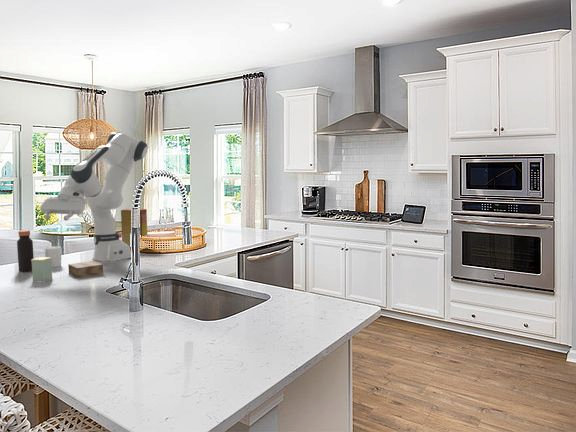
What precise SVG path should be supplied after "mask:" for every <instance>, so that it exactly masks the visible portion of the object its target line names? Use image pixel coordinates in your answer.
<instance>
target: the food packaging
mask: <svg viewBox="0 0 576 432" xmlns="http://www.w3.org/2000/svg"><path fill="white" fill-rule="evenodd" d="M131 209H132V208H123V209H121V210H120V216H121V217H120V218H121V219H120V220H121V234H122V237H121V241H123V242H124V243H126V244H127V245H129V247H130V233H131ZM139 209H140V235H141V237H142V236H145V235H147V236H148V216H147V215H148V213H147V212H148V211H147V209H146V208H144V209H143V208H139ZM130 250H131V247H130ZM131 251H132V250H131Z"/></svg>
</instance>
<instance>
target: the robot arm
mask: <svg viewBox="0 0 576 432" xmlns="http://www.w3.org/2000/svg"><path fill="white" fill-rule="evenodd" d="M106 142H107V143H106V145H100V146H98V147H96V148H95V149H94V150H93V151H91V152H90V153H89V154H88V155H87V156H86V157H85V158H83V160H82V161H80V162H78V163H77V164H75V165H74V166H73V167H72V168H71V170H70V174H69V176H68V177H67V179H66V180H65V182H64V186H63V187H61V189H60V191H59V193H58V195H57V196H50V197H48V198H46V199H45V200H44V201H43V202H42V204H41V205H40V206H39V207H40V208H39V209H40V210H41V212H42V213H43V214H45V216H44V219H45V220H46V221H48V220H50V219H51V214H53V215H54V214H55V215H56V214H58V215H59V214H61V215H64V217H63V220H64V221H69V220H70V218H72V217H73V216H74V215H79V216H80V215H81V214H83V212H84V211H85V207H86V204H87V205H88V207H89V209H90V213H91V215H92V219H93V226H94V229H93V231H94V234H93V245H94V251H93V257H92V261H95V262H97V261H99V262H102V261H103V262H104V261H105V262H106V261H107V262H114V261H120V260H127V259H130V258H131V253H132V250H130V247H129V245H127V244H126V243H124V242H123V241H122V233H117V230H116V218H115V217H114V216H113V214H112V212H111V210H114V209H118V208H120V207H121V206H122V204H123V201H124V198H123V195H122V191H123V188H124V185H125V184H126V181H127V180H128V177H129V176H130V174H131V172H132V169H133V167H134V164H135V162H136V163H137V162H138V161H141V160H143V159H144V158H145V157H146V155H147V153H148V147H149V146H148V143H146V142H145V141H143V140H140V139H138V138H137V137H134V136H131V135H128V134H126V133H122V132H120V131H113V132H111V133H110V134H109V136H108V138H107V141H106ZM101 160H102V161H103V162H104V163H105V164H108V165H110V166H109V167H108V170H107V171H106V172H105V175H104V177H103V178H104V186H103V185H102V183H101V181H100V180H99V178H98V177H97V175H96V173H95V171H94V167H95V166H96V165H97V164H98V163H99V162H100V161H101ZM120 238H121V239H120Z"/></svg>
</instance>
